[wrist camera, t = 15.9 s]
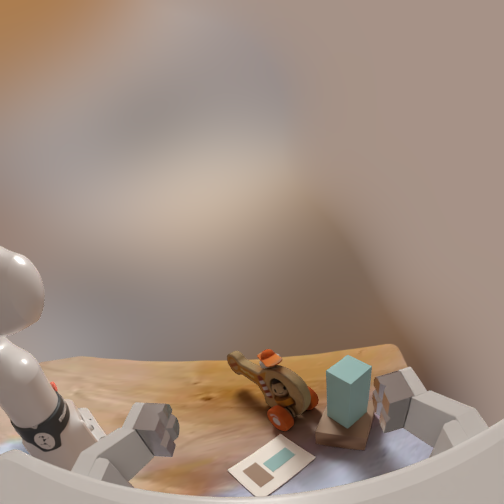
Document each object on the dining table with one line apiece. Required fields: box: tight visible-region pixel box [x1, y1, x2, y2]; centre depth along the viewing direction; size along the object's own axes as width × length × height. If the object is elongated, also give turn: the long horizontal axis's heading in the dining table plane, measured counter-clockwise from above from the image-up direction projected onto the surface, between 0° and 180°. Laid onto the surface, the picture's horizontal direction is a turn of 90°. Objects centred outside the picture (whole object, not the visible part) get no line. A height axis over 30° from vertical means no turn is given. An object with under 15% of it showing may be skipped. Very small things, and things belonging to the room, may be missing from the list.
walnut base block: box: [315, 400, 375, 450], centre depth 38 cm, size 8×8×4 cm
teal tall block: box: [326, 355, 372, 429], centre depth 37 cm, size 4×4×10 cm
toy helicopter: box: [227, 349, 318, 431], centre depth 48 cm, size 8×21×14 cm, turn 40°
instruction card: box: [228, 434, 316, 497], centre depth 34 cm, size 8×11×1 cm
